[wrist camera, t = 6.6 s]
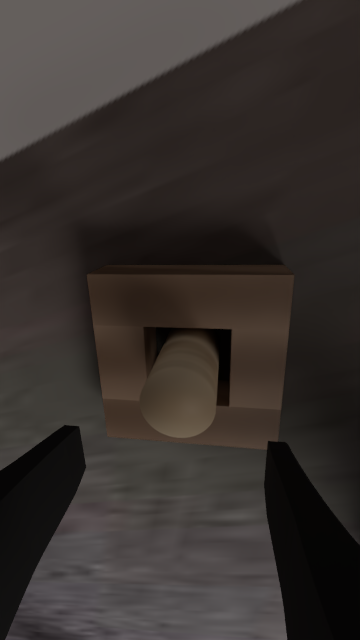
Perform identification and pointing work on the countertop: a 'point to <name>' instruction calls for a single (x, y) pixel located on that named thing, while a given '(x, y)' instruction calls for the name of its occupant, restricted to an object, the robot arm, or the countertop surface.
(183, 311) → the walnut socket block
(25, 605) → the countertop surface
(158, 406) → the beech peg
